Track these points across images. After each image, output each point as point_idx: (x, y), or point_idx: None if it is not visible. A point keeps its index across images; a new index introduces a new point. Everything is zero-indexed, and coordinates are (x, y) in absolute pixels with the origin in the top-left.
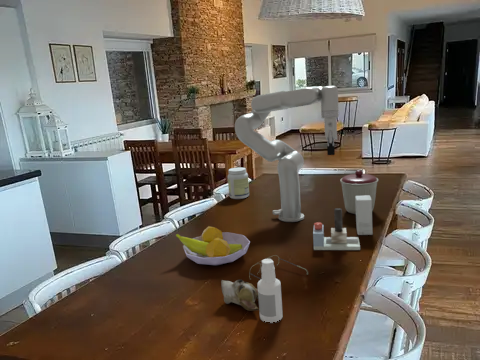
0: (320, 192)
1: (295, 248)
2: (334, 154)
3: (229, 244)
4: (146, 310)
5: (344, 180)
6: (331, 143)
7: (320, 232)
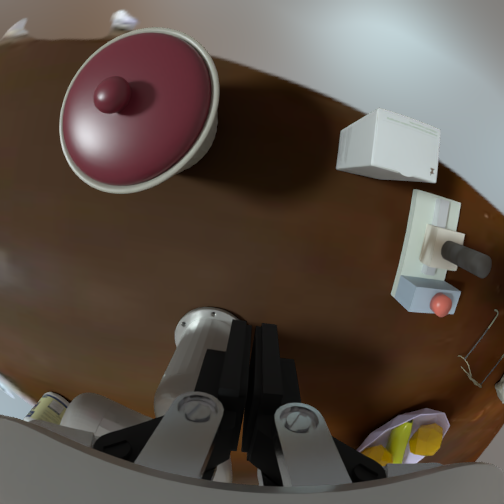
0: (13, 231)
1: (415, 333)
2: (276, 325)
3: (409, 436)
4: (469, 439)
5: (147, 174)
6: (408, 469)
7: (454, 297)
